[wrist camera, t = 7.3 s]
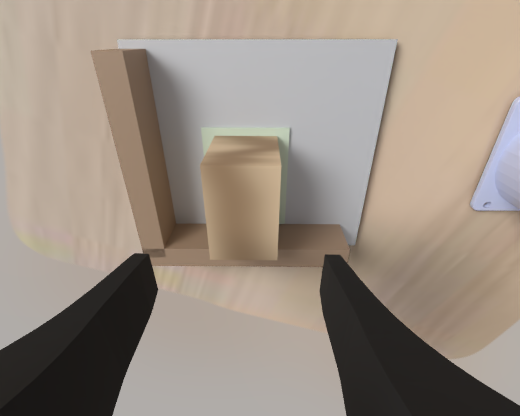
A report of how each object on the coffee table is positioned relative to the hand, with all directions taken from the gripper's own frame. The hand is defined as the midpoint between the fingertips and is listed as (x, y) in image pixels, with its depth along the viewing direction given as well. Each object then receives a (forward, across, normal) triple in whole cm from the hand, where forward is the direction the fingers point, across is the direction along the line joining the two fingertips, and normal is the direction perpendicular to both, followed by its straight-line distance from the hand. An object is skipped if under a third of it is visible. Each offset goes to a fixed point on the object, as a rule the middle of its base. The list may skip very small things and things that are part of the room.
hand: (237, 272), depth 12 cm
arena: (+10, 0, -1) cm, 10 cm away
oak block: (+9, 0, 0) cm, 9 cm away
